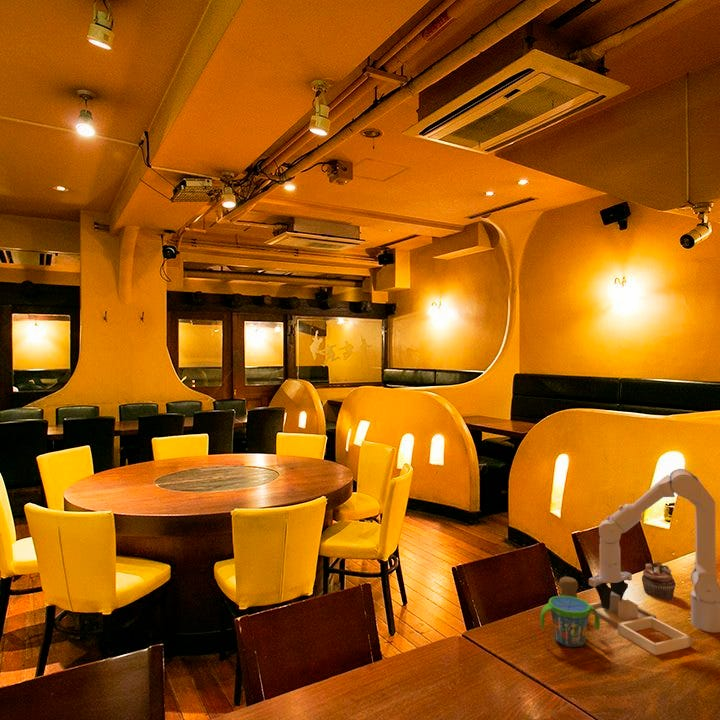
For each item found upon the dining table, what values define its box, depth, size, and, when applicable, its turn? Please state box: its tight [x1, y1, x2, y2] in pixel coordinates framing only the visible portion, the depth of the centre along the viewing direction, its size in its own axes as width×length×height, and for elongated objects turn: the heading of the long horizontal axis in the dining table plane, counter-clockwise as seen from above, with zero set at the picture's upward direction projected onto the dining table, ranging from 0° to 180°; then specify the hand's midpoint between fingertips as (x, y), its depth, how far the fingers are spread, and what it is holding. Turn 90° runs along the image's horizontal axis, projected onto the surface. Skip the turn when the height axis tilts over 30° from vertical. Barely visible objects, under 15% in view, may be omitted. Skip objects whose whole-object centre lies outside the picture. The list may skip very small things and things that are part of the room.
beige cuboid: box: [618, 599, 639, 621], centre depth 153 cm, size 4×4×4 cm
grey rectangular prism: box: [602, 591, 620, 613], centre depth 159 cm, size 4×4×4 cm
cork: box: [558, 576, 579, 598], centre depth 157 cm, size 6×6×11 cm
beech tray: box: [588, 598, 657, 629], centre depth 156 cm, size 14×13×2 cm
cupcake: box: [641, 561, 677, 602], centre depth 170 cm, size 10×10×10 cm
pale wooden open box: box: [617, 616, 692, 656], centre depth 141 cm, size 12×12×4 cm
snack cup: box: [539, 595, 601, 648], centre depth 143 cm, size 16×10×10 cm
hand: (610, 606), depth 159 cm, fingers closed on grey rectangular prism, 4 cm apart
